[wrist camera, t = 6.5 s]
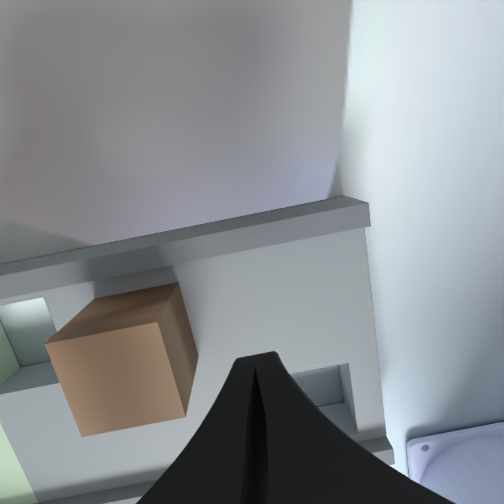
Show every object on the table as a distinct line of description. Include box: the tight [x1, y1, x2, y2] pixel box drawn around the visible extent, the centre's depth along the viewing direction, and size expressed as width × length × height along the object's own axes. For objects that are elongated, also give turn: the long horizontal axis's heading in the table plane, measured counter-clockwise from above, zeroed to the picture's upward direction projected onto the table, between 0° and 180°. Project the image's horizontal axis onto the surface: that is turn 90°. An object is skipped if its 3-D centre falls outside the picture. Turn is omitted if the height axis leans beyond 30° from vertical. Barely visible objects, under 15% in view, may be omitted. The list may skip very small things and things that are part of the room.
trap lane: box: [0, 196, 395, 504], centre depth 17 cm, size 25×14×4 cm, turn 101°
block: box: [44, 282, 199, 437], centre depth 14 cm, size 4×4×4 cm
